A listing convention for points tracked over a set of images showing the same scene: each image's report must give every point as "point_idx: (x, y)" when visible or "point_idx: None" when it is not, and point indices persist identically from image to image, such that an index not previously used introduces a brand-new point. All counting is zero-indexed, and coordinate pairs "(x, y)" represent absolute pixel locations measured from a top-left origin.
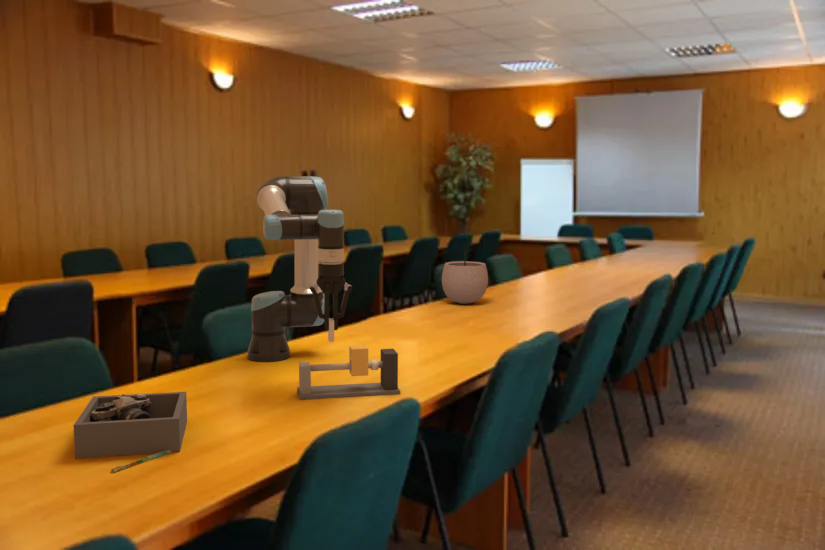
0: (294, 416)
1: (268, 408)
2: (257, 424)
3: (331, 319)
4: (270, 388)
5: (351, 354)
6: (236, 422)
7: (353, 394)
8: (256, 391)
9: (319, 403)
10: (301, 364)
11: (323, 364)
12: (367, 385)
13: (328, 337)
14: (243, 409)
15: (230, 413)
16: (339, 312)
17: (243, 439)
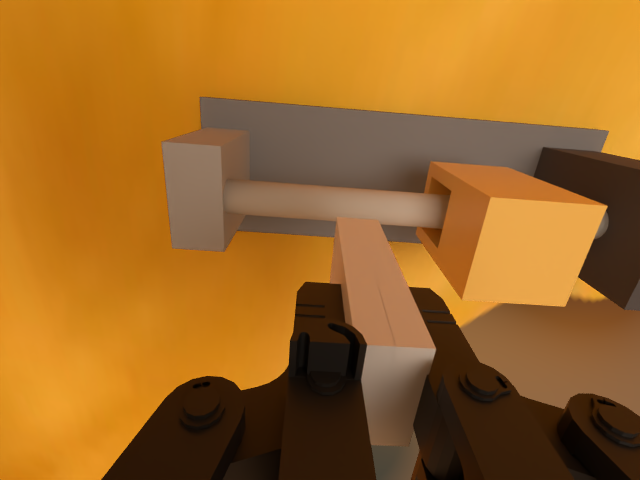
0: (193, 362)
1: (113, 285)
2: (102, 392)
3: (390, 397)
4: (85, 29)
5: (451, 276)
6: (44, 369)
7: (396, 240)
8: (30, 64)
9: (272, 277)
10: (177, 199)
11: (296, 211)
12: (484, 155)
13: (336, 246)
14: (35, 276)
15: (5, 301)
16: (600, 478)
17: (87, 458)
